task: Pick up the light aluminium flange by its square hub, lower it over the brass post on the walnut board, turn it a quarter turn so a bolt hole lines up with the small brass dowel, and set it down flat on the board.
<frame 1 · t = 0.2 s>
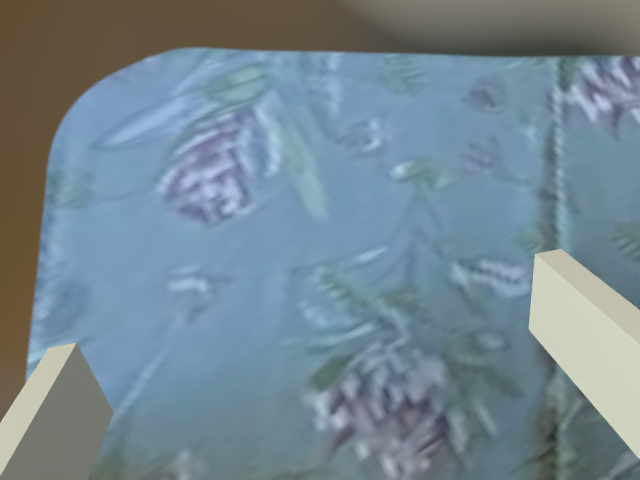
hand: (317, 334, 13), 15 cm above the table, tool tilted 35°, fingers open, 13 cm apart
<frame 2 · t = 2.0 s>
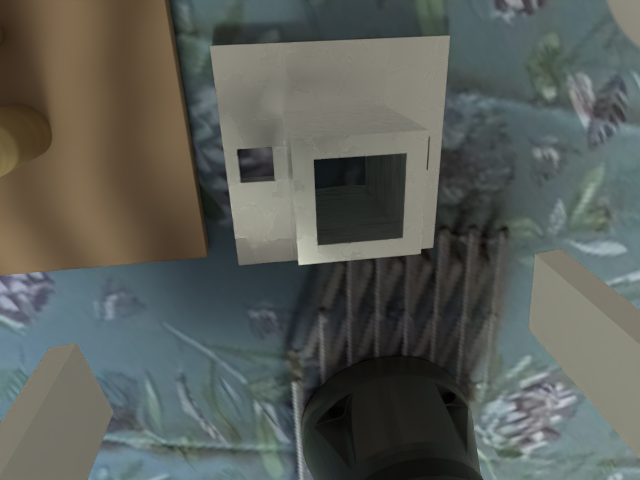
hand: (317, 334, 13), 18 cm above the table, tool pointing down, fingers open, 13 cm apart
post board: (35, 126, 26), on the table
flange: (333, 155, 29), on the table
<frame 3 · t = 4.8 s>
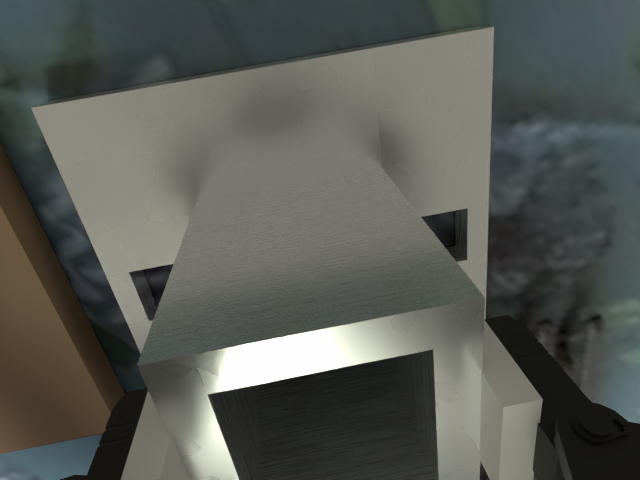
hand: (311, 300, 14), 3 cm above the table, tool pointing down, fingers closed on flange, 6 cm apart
flange: (302, 250, 17), on the table, touching gripper
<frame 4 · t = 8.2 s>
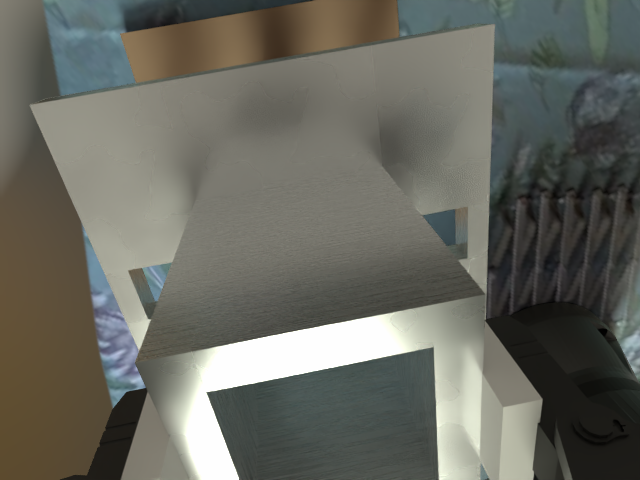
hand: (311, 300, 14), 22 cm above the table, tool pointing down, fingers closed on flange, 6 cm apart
post board: (284, 141, 34), on the table
flange: (302, 249, 17), point 18 cm above the table, touching gripper
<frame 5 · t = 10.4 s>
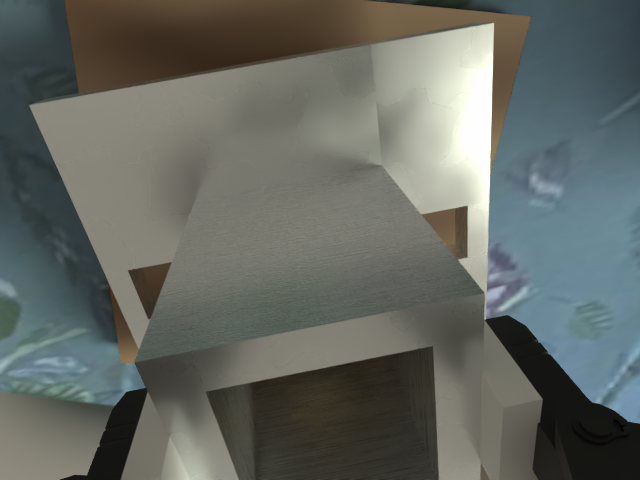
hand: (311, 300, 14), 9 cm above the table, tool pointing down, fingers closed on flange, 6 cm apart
post board: (296, 201, 22), on the table
flange: (302, 248, 17), point 5 cm above the table, touching gripper
when the fingers open (6 cm above the table, at t = 11.9 s): flange stays where it is, resting on post board.
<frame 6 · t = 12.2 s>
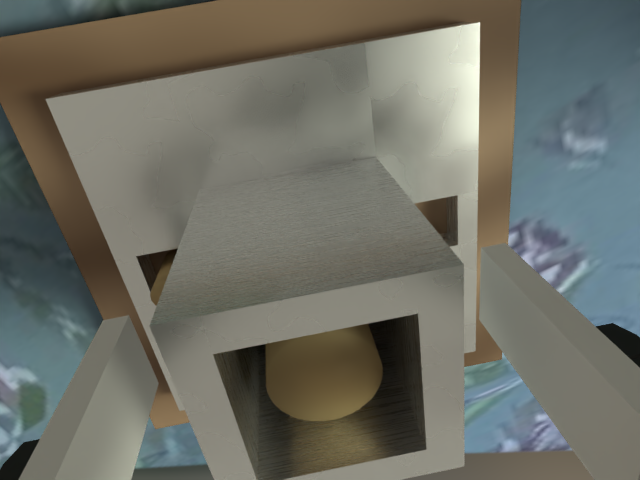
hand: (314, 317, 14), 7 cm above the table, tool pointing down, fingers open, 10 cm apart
post board: (298, 224, 20), on the table
flange: (301, 236, 18), point 1 cm above the table, touching post board
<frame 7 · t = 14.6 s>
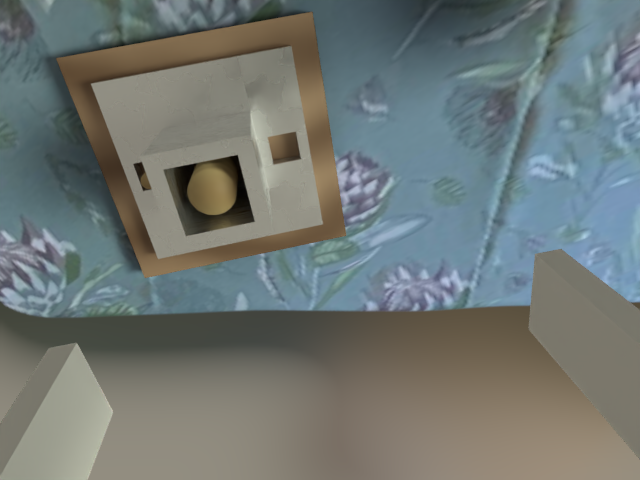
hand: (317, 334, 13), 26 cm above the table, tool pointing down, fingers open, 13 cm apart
post board: (221, 153, 36), on the table
flange: (220, 157, 35), point 1 cm above the table, touching post board
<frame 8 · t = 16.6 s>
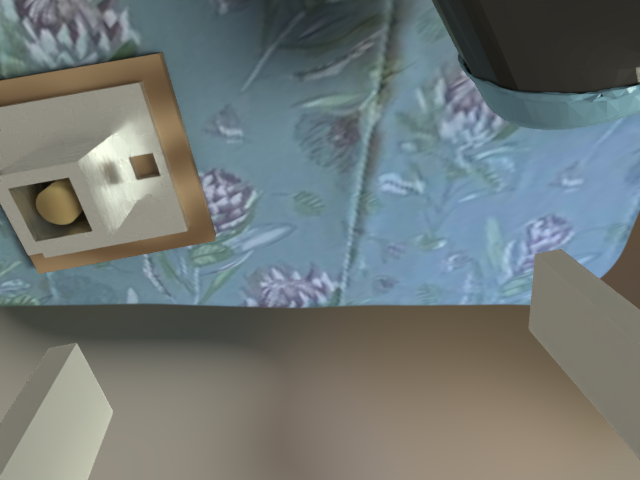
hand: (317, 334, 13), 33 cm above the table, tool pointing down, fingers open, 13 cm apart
post board: (98, 169, 42), on the table
flange: (93, 172, 41), point 1 cm above the table, touching post board
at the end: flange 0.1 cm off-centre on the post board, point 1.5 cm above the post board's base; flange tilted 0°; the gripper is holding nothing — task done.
